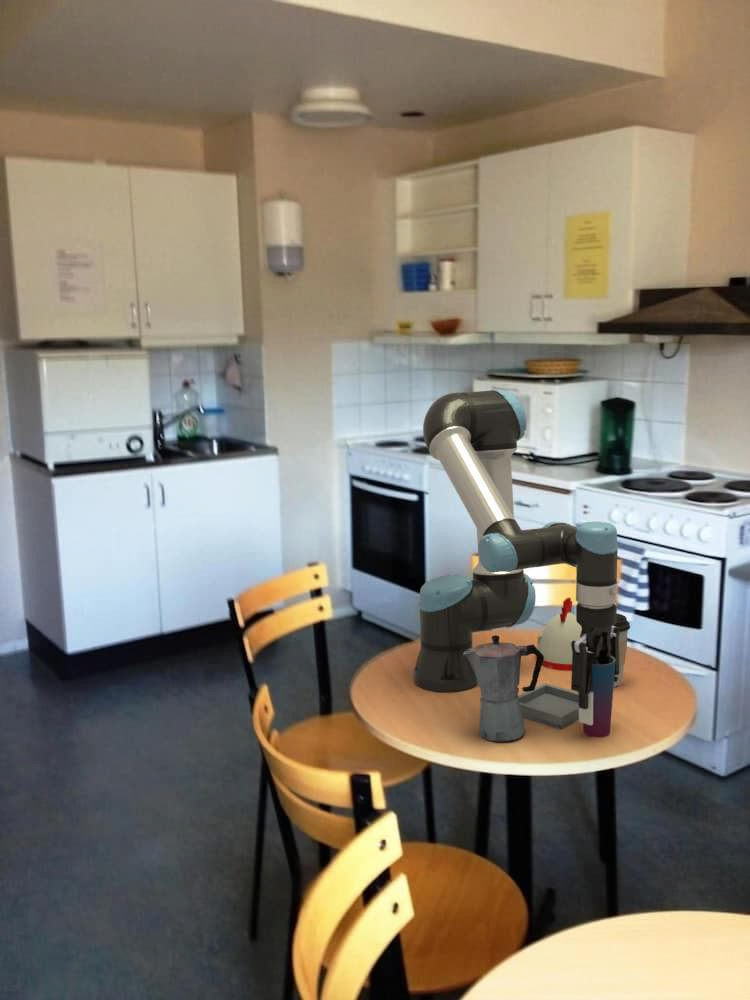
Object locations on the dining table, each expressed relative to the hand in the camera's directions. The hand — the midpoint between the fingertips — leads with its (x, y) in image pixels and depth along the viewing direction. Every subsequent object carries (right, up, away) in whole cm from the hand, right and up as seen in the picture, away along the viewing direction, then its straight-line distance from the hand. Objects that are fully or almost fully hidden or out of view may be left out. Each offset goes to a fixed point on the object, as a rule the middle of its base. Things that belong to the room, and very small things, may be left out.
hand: (595, 717), depth 182 cm
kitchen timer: (+2, +4, +40) cm, 40 cm away
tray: (-6, -1, +11) cm, 13 cm away
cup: (0, -3, 0) cm, 3 cm away
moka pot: (-18, -4, +1) cm, 18 cm away
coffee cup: (+9, +2, +25) cm, 27 cm away
